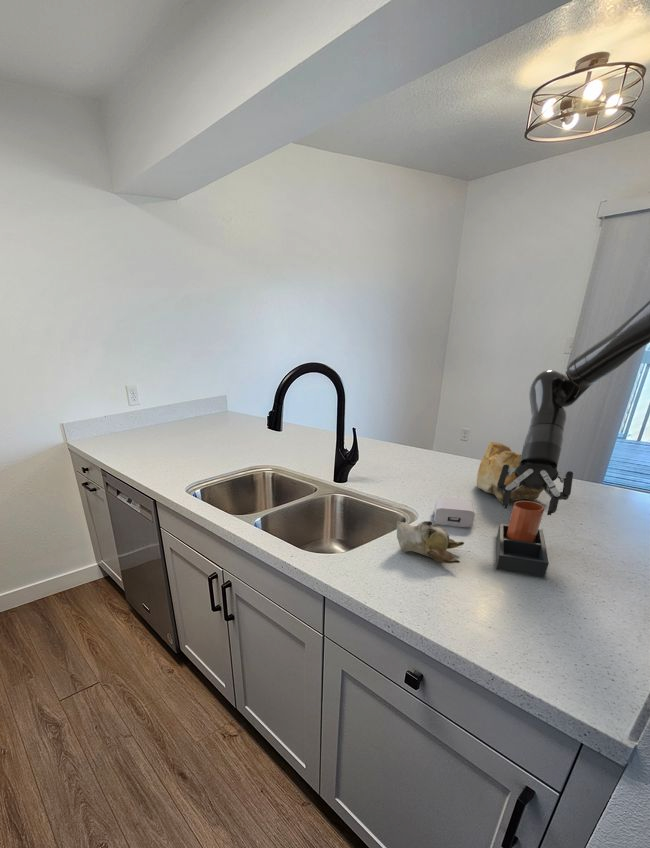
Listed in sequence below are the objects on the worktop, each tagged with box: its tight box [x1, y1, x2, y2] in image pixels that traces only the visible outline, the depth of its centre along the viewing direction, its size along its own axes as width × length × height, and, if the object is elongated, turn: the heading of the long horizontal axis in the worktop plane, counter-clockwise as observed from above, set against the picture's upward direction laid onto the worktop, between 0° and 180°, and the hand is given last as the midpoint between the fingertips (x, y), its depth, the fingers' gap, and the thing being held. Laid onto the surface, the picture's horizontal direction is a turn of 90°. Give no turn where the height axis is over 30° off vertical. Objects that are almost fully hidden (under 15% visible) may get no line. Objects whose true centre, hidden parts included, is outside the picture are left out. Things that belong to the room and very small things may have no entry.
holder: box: [495, 523, 550, 579], centre depth 99 cm, size 9×17×4 cm, turn 152°
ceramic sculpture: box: [396, 520, 465, 564], centre depth 100 cm, size 11×9×15 cm
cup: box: [505, 500, 545, 543], centre depth 100 cm, size 6×6×10 cm
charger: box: [433, 495, 476, 528], centre depth 120 cm, size 5×9×15 cm
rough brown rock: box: [476, 441, 545, 504], centre depth 127 cm, size 23×17×15 cm
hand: (527, 510), depth 99 cm, fingers open, 8 cm apart
